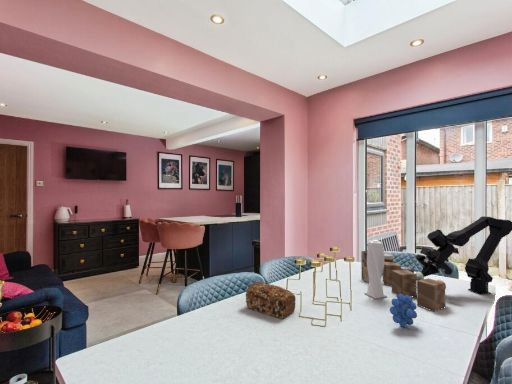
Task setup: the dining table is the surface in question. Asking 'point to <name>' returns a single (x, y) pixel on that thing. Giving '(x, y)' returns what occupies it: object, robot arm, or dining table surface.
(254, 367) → the dining table surface
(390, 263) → the box left
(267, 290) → the bread
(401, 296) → the grapes
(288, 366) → the dining table surface
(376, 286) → the skyscraper
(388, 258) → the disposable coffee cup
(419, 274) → the button sage
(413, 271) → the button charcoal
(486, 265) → the robot arm
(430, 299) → the box right
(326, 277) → the dining table surface
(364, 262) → the coffee box
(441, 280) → the button terracotta
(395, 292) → the box middle
